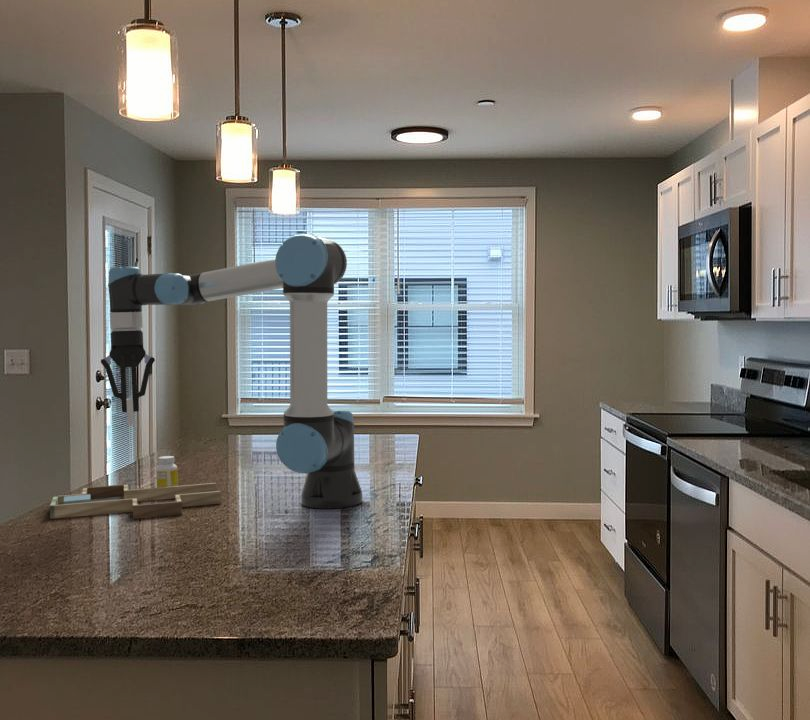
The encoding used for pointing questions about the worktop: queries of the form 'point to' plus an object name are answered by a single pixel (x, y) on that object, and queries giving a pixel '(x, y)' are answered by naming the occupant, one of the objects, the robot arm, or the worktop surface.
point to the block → (77, 499)
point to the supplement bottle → (167, 472)
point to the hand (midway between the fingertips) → (130, 425)
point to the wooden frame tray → (136, 500)
